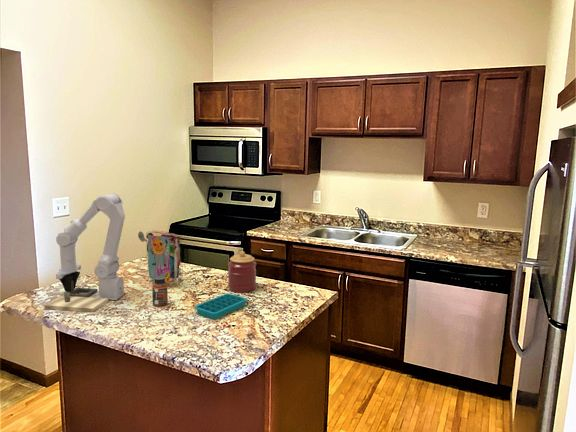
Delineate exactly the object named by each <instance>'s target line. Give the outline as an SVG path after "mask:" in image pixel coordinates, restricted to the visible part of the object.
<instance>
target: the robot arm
mask: <svg viewBox="0 0 576 432" xmlns="http://www.w3.org/2000/svg"><path fill="white" fill-rule="evenodd" d="M123 204H124V203H123V199H122V198H121V197H120V196H119V194H117V193H115V192H113V193H112V192H111V193H108V194H103V195H99V196H98V197H96V199H94V200H93V201H92V203H91V204H90V206H89V207H88V208H87V209H86V210H85V212H84V213H83V214H81V217H80V218H75V219H73V220H70V224H69V225H68V226H67V227H65V228H64V229H63V232H60V233H58V234H57V236H56V238H55V241H56V244H57V245H58V246H59V254H60V255H59V256H60V268H59V270H58V273H55V278H56V279H57V280H59V281H60V282H61V285H62V287H63V289H64V293H66V292H70V291H71V281H72V280H73V282H74V290H75V289H76V288H77V287H76V286H77V282H78V279H79V277H80V274H81V271H78V270H82V264H77V259H76V243H77V242H78V238H79V237H80V236H81V235H82V233H84V232H85V230H86V229H87V228H88V225H87V224H88V223H89V222H90V221H91V220H92V219H93V218H94V217H95V216H96V215H97V214H98V213H99V212H101V213H103V214H104V215H105V216H107V217H108V219H109V223H108V228H107V233H106V239H105V241H104V248H103V252H102V255H101V256H100V258H99V260H98V262H97V264H96V266H95V267H94V274H95V276H96V277H97V279H98V295H96V296H95V297H94V298H108V301H116V300H117V301H118V299H120V298H121V297H122V296H124V295H125V294H126V293H125V289H124V287H125V286H124V285H125V284H124V283H125V282H124V279H123V277H121V276H118V275H117V274H118V271H119V269H120V263H119V260H120V257H118V251H119V245H120V240H121V237H122V232H123V229H124V223H125V218H126V217H125V210H124V207H123Z"/></svg>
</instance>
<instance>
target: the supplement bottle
mask: <svg viewBox="0 0 576 432" xmlns="http://www.w3.org/2000/svg"><path fill="white" fill-rule="evenodd" d="M151 286H152V287H151V288H152V289H151V290H152V291H151V292H152V293H151V294H152V295H151V296H152V306H154V307H164V306H166V305H167V304H168V294H169V293H168V287H167V286H168V282H165V277H156V278H155V281H153V282H152V284H151Z"/></svg>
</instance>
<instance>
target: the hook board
mask: <svg viewBox="0 0 576 432" xmlns="http://www.w3.org/2000/svg"><path fill="white" fill-rule="evenodd" d="M63 294H64V295H61V296H58V297H57V298H56V299H54V300H52V301H50V302H48V303H46V304H44V310H56V311H69V312H72V311H73V312H85V313H87V312H88V313H94V312H95V311H97V310H98V309H100V308H101V307H103V306H104V305H105V304H107V303H108V302H109V300H108V298H95V297H92V296H90V297H75V296H70V292H64V293H63Z"/></svg>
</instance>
